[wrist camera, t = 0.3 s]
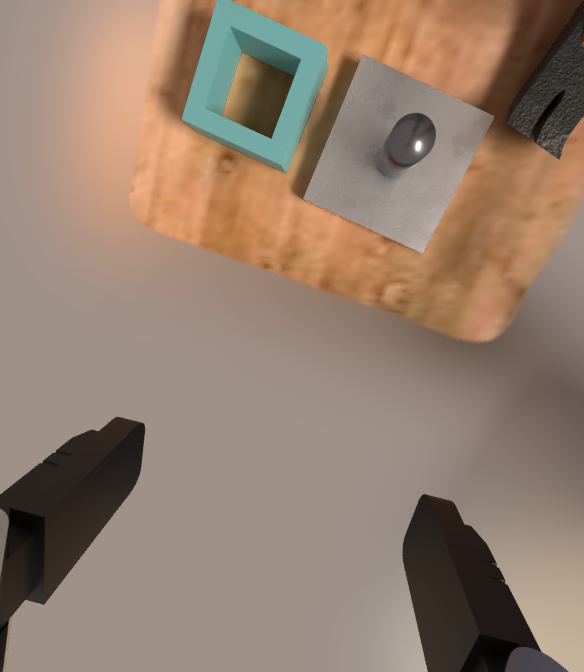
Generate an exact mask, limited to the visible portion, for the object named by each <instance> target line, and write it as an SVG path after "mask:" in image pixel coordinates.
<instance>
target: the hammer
mask: <svg viewBox="0 0 584 672" xmlns="http://www.w3.org/2000/svg"><path fill="white" fill-rule="evenodd" d="M583 116H584V1H583V2H582V3H581V5H580V6H579V8H578V9H577V11H576V12H575V13H574V15H573V16H572V18H571V19H570V21H569V22H568V24H567V25H566V26H565V28H564V29H563V31H562V32H561V34H560V35H559V36H558V38H557V39H556V41H555V42H554V44H553V45H552V46H551V48H550V49H549V51H548V52H547V54H546V55H545V56H544V58H543V59H542V61H541V62H540V64H539V65H538V66H537V68H536V69H535V71H534V72H533V74H532V75H531V76H530V78H529V79H528V81H527V82H526V83H525V85H524V86H523V88H522V89H521V91H520V92H519V94H518V95H517V97H516V98H515V100H514V102H513V104H512V105H511V107H510V109H509V112H508V116H507V121H506V122H507V123H508V124H509V125H510V126H512V127H513V128H515V129H516V130H518V131H519V132H520V133H522V134H523V135H525V136H526V137H528V138H529V137H530V135H531V133H532V130H533V128H534V126H535V124H536V123H537V124H536V127H535V131H534V141H535V143H536V144H538V145H539V146H541V147H542V148H543V149H545V150H546V151H548V152H549V153H551V154H552V155H553V156H555V157H556V158H558V159H560V156H561V152H562V148H563V146H564V144H565V142H566V140H567V138H568V137H569V135H570V133H571V132H572V130H573V129H574V128H575V126H576V125H577V124H578V122H579V121H580V120H581V119H582V118H583ZM538 119H539V120H538ZM537 121H538V122H537Z"/></svg>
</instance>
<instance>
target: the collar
mask: <svg viewBox="0 0 584 672" xmlns="http://www.w3.org/2000/svg"><path fill="white" fill-rule="evenodd" d="M242 52H243V53H245V54H248V55H250V56H252V57H254V58H256V59H258V60H260V61H263V62H265V63H267V64H269V65H271V66H273V67H275V68H278V69H280V70H282V71H284V72H286V73H288V74H291V75H293V76H295V77H294V80H293V83H292V85H291V88H290V91H289V93H288V96H287V99H286V101H285V104H284V107H283V109H282V112H281V115H280V118H279V120H278V123H277V126H276V128H275V131H274V134H273V136H272V139H270V138H268V137H266V136H264V135H262V134H259V133H257V132H255V131H253V130H251V129H249V128H246V127H244V126H242V125H240V124H238V123H236V122H233V121H231V120H229V119H227V118H225V117H223V116H221V114H222V111H223V108H224V105H225V102H226V99H227V96H228V93H229V90H230V87H231V84H232V81H233V78H234V75H235V71H236V68H237V65H238V62H239V59H240V56H241V53H242ZM326 72H327V45H324V44H322V43H320V42H318V41H316V40H314V39H312V38H310V37H307V36H305V35H303V34H301V33H299V32H297V31H295V30H292V29H290V28H288V27H286V26H284V25H282V24H280V23H278V22H275V21H273V20H271V19H269V18H267V17H265V16H263V15H260V14H258V13H256V12H254V11H252V10H250V9H248V8H245V7H243V6H241V5H239V4H237V3H235V2H233V1H231V0H217V2H216V5H215V9H214V12H213V15H212V19H211V22H210V26H209V29H208V32H207V36H206V39H205V42H204V46H203V49H202V52H201V56H200V59H199V62H198V66H197V69H196V72H195V76H194V79H193V83H192V86H191V89H190V93H189V96H188V99H187V103H186V106H185V109H184V113H183V116H182V119H181V120H183V121H184V122H185V123H186V124H188V125H189V126H190V127H191V128H193V129H194V130H195V131H196V132H197V133H199V134H201V135H203V136H205V137H208V138H210V139H212V140H214V141H216V142H219V143H221V144H223V145H225V146H227V147H229V148H232V149H234V150H236V151H238V152H240V153H243V154H245V155H247V156H249V157H251V158H253V159H256V160H258V161H260V162H262V163H264V164H267V165H269V166H271V167H273V168H275V169H277V170H280V171H282V172H284V173H287V171H288V168H289V166H290V163H291V161H292V158H293V156H294V153H295V151H296V148H297V145H298V143H299V140H300V138H301V135H302V133H303V130H304V128H305V125H306V123H307V120H308V117H309V115H310V112H311V110H312V107H313V105H314V102H315V100H316V97H317V95H318V92H319V89H320V87H321V84H322V82H323V79H324V77H325V74H326Z"/></svg>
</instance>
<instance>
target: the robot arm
mask: <svg viewBox="0 0 584 672" xmlns="http://www.w3.org/2000/svg"><path fill="white" fill-rule="evenodd" d="M144 436H145V425H144V423H141V422H137V421H133V420H128V419H124V418H120V417H116V418H114V419H113V420H111V421H110V422H109V423H108V424H107V425H106V426H104V427H103V428H102V429H101V430H100V431H95V430H90V431H87V432H85V433H83V434H80V435H78V436H76V437H73V438H71V439H70V440H69V441H68V442H66V443H65V444H64V445H62V446H61V447H60V448H59V449H57V450H56V453H52V454H51V455H50V456H49V457H47V458H46V459H45V460H44V461H43V463H42V464H41V463H40V464H38V465H37V466H36V467H35V468H33V469H32V470H31V471H30V472H28V473H27V474H26V475H24V476H23V477H22V478H21V479H19V480H18V481H17V482H16V483H14V484H13V485H12V486H11V487H9V488H8V489H7V490H5V491H4V492H3V493H2V494H0V672H6V665H7V656H8V647H9V639H10V630H11V616H12V615H13V614H14V613H15V611H16V610H17V609H18V608H19V606H21V604H22V603H23V602H24V601H25V600H29V601H32V602H36V603H40V604H43V605H44V604H45V603H46V602H47V600H48V599H49V598H50V596H51V595H52V594H53V592H54V591H55V590H56V588H57V587H58V586H59V585H60V583H61V582H62V581H63V579H64V578H65V577H66V576H67V574H68V573H69V572H70V570H71V569H72V568H73V566H74V565H75V564H76V563H77V561H78V560H79V559H80V557H81V556H82V555H83V554H84V552H85V551H86V550H87V548H88V547H89V546H90V544H91V543H92V542H93V541H94V539H95V538H96V536H97V535H98V534H99V533H100V531H101V530H102V529H103V528H104V526H105V525H106V524H107V522H108V521H109V520H110V519H111V517H112V516H113V515H114V513H115V512H116V510H117V509H118V508H119V507H120V506H121V504H122V503H123V502H124V500H125V499H126V498H127V496H128V495H129V494H130V493H131V491H132V490H133V488H134V486H135V485H136V482H137V480H138V477H139V475H140V471H141V464H142V454H143V445H144ZM403 563H404V568H405V571H406V577H407V581H408V585H409V590H410V594H411V599H412V603H413V608H414V612H415V616H416V621H417V626H418V630H419V634H420V638H421V643H422V648H423V652H424V657H425V661H426V665H427V670H428V672H568V671H567V670H566V669H565V668H564V667H562V666H561V665H560V664H559V663H558V662H556V661H555V660H554V659H552V658H551V657H549V656H548V655H546V654H544V653H542V652H541V650H540V648H539V646H538V644H537V642H536V640H535V638H534V636H533V634H532V632H531V630H530V628H529V626H528V624H527V622H526V620H525V618H524V616H523V614H522V612H521V610H520V608H519V607H518V605H517V603H516V601H515V599H514V597H513V595H512V593H511V591H510V589H509V587H508V585H506V584H505V579H504V577H503V575H502V573H501V571H500V569H499V568H497V563H496V561H495V559H494V557H493V555H492V553H491V551H490V549H489V547H488V546H487V544H486V543H485V542H484V540H483V539H482V538H481V537H480V536H479V535H478V534H477V532H476V531H475V530H474V529H473V528H472V527H471V526H469V525H465V524H464V523H463V521H462V519H461V516H460V514H459V512H458V510H457V508H456V506H455V504H454V503H453V502H452V501H449V500H445V499H442V498H437V497H433V496H429V495H426V494H424V495H422V496H421V498H420V499H419V501H418V504H417V506H416V509H415V512H414V514H413V517H412V519H411V522H410V524H409V527H408V530H407V532H406V535H405V538H404V542H403Z"/></svg>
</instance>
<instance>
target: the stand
mask: <svg viewBox="0 0 584 672" xmlns="http://www.w3.org/2000/svg"><path fill="white" fill-rule="evenodd" d="M494 118H495V116H493V115H491V114H489V113H487V112H485V111H482V110H480V109H478V108H476V107H474V106H472V105H470V104H468V103H465V102H463V101H461V100H459V99H457V98H455V97H453V96H450V95H448V94H446V93H444V92H442V91H440V90H438V89H436V88H433V87H431V86H429V85H427V84H425V83H423V82H421V81H418V80H416V79H414V78H412V77H410V76H408V75H406V74H404V73H401V72H399V71H397V70H395V69H393V68H391V67H389V66H386V65H384V64H382V63H380V62H378V61H376V60H374V59H372V58H369V57H367V56H365V55H363V56H362V58H361V60H360V63H359V65H358V68H357V70H356V72H355V75H354V77H353V80H352V82H351V84H350V87H349V89H348V92H347V94H346V97H345V99H344V101H343V104H342V106H341V109H340V111H339V113H338V116H337V118H336V121H335V123H334V126H333V128H332V130H331V133H330V135H329V138H328V140H327V142H326V145H325V147H324V150H323V152H322V154H321V157H320V159H319V162H318V164H317V167H316V169H315V171H314V174H313V176H312V179H311V181H310V183H309V186H308V188H307V191H306V193H305V196H304V198H303V199H304V201H307V202H309V203H311V204H313V205H315V206H318V207H320V208H322V209H324V210H326V211H328V212H331V213H333V214H335V215H337V216H339V217H342V218H344V219H346V220H348V221H350V222H353V223H355V224H357V225H359V226H361V227H363V228H366V229H368V230H370V231H372V232H374V233H377V234H379V235H381V236H383V237H385V238H388V239H390V240H392V241H394V242H396V243H398V244H401V245H403V246H405V247H407V248H409V249H412V250H414V251H416V252H418V253H423V251H424V249H425V247H426V245H427V244H428V242H429V240H430V238H431V236H432V234H433V232H434V230H435V228H436V227H437V225H438V223H439V221H440V219H441V217H442V215H443V213H444V212H445V210H446V208H447V206H448V204H449V202H450V200H451V198H452V197H453V195H454V193H455V191H456V189H457V187H458V185H459V183H460V182H461V180H462V178H463V176H464V174H465V172H466V170H467V168H468V167H469V165H470V163H471V161H472V159H473V157H474V155H475V153H476V152H477V150H478V148H479V146H480V144H481V142H482V140H483V138H484V137H485V135H486V133H487V131H488V129H489V127H490V125H491V123H492V122H493V120H494Z"/></svg>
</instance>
